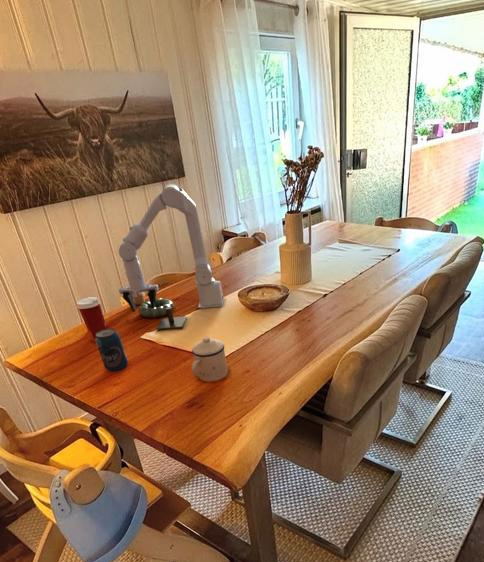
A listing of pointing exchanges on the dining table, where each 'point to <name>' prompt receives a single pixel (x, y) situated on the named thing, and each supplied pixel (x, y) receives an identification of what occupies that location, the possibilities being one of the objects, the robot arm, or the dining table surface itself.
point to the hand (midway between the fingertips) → (144, 309)
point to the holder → (171, 321)
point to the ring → (160, 308)
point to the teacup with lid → (209, 360)
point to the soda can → (111, 350)
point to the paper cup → (92, 315)
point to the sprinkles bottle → (138, 297)
